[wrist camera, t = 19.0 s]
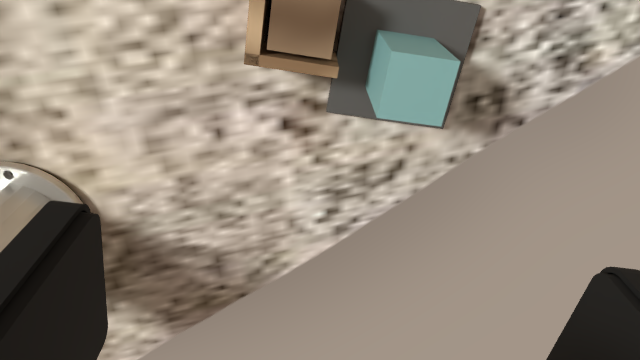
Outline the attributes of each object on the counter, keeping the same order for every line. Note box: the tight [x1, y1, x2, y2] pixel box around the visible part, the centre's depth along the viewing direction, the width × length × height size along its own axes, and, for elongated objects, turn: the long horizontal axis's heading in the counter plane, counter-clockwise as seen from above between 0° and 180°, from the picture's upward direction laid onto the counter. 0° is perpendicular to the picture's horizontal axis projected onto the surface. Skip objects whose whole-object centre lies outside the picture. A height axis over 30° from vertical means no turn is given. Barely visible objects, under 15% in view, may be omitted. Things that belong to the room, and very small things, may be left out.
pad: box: [327, 0, 481, 129], centre depth 37 cm, size 10×10×1 cm
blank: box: [365, 30, 461, 127], centre depth 34 cm, size 4×4×7 cm
